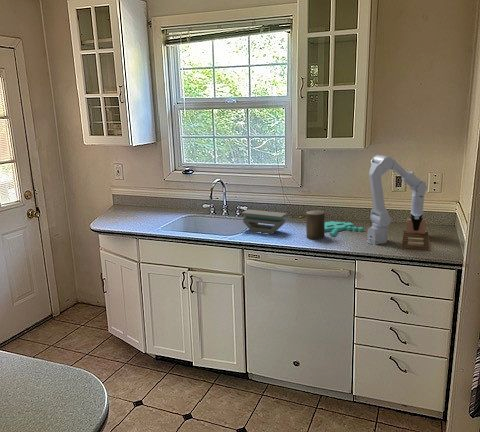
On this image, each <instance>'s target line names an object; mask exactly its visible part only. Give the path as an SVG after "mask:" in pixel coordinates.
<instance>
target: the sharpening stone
mask: <svg viewBox="0 0 480 432" xmlns="http://www.w3.org/2000/svg"><path fill="white" fill-rule="evenodd" d="M240 215H241V216H245V217H243V219H242V222H243V224H244V225H246V227H247V229H249V230H250V232H251V233H255V232H261V233H260V234H263V233H268V234H267V235H273V232H274V233H275V232H277V231H278V230H279V229H280V228H282V226H283V225H284V224H285V223H286V217H288V213H287V212H279V211H268V210H257V209H246V210H244V211H242V212H241V214H240ZM276 230H277V231H276Z"/></svg>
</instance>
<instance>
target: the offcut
mask: <svg viewBox="0 0 480 432" xmlns="http://www.w3.org/2000/svg"><path fill="white" fill-rule="evenodd" d="M408 241H422V242H423V238H410V237H408Z"/></svg>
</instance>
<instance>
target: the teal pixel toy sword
mask: <svg viewBox="0 0 480 432" xmlns="http://www.w3.org/2000/svg"><path fill="white" fill-rule="evenodd" d="M341 231H349V232H351V231H353V232H364V227H361V226H360V227H357V226H355V224H354V223H352V222H344V221H334V220H332V221H326V222H325V233H326V232H327V233H328V232H329V236H330V237H332V238H333V237H336V235H337V234H338V233H339V232H341Z"/></svg>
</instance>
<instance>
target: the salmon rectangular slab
mask: <svg viewBox="0 0 480 432" xmlns="http://www.w3.org/2000/svg"><path fill="white" fill-rule="evenodd" d="M426 224H427V220H426V219H422V221H421V223H420V226H419V230H418V231H414V229H413V223H412V220H411V218H409V219H408V218H407V219H406V230H405V231H406V233H421V234H425V232H426Z"/></svg>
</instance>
